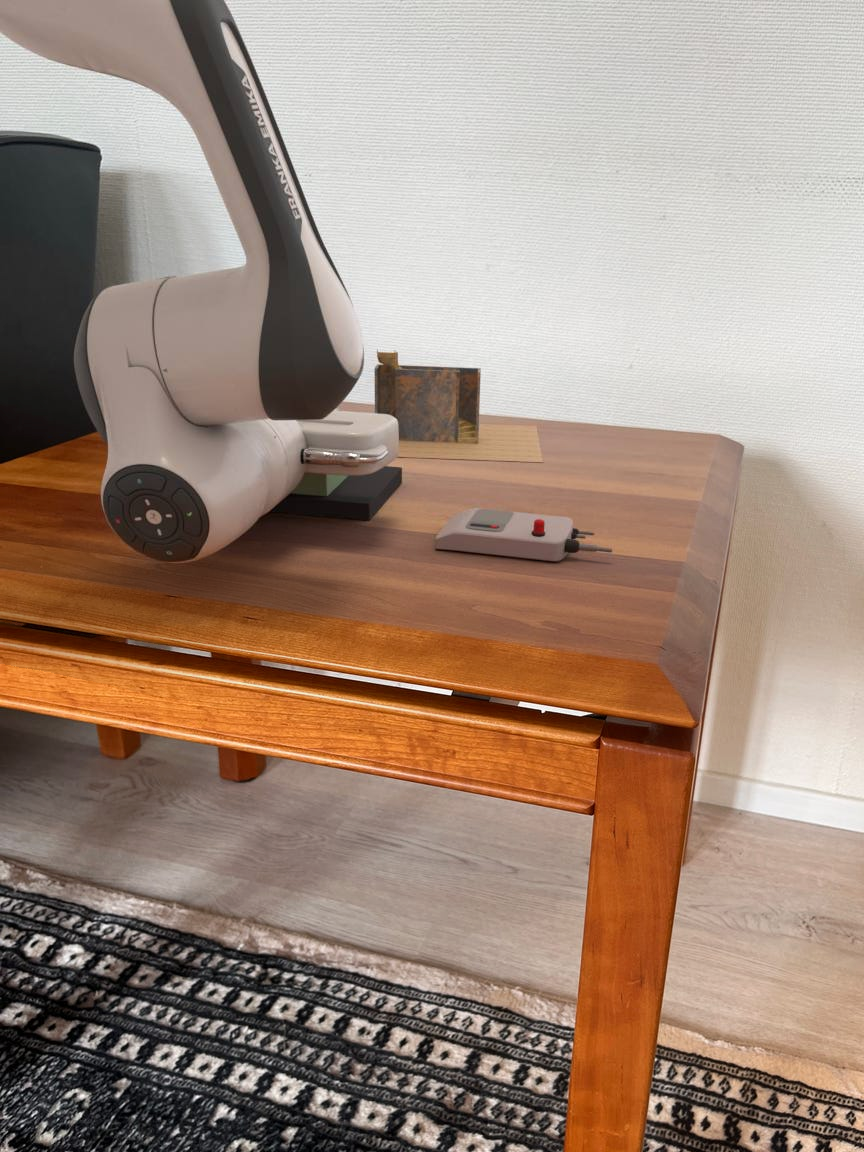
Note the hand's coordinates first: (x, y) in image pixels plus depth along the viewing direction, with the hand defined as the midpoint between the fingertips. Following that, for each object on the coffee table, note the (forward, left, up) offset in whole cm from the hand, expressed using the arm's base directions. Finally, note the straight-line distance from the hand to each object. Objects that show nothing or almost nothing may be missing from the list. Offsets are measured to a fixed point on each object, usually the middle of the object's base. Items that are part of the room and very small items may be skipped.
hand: (303, 414), depth 91 cm
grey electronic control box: (+17, -16, -7) cm, 24 cm away
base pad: (0, -1, -7) cm, 7 cm away
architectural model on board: (+14, +19, -7) cm, 25 cm away
